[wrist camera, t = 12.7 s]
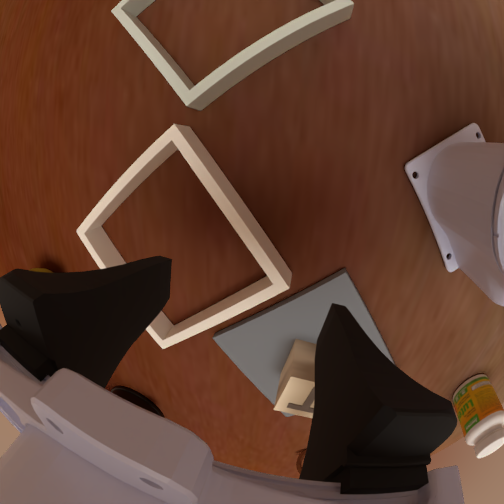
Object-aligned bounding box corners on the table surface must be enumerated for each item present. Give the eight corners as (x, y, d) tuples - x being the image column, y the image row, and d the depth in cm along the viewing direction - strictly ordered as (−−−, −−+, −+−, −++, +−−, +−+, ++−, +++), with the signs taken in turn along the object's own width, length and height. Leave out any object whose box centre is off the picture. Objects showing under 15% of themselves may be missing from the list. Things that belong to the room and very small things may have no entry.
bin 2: (292, 273, 21) (289, 288, 19) (173, 334, 26) (162, 349, 23) (189, 126, 18) (174, 123, 16) (93, 223, 23) (76, 231, 21)
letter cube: (344, 351, 21) (348, 389, 17) (325, 383, 23) (324, 421, 19) (295, 338, 22) (290, 377, 18) (280, 373, 24) (273, 410, 19)
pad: (398, 370, 22) (399, 376, 21) (287, 411, 27) (286, 417, 26) (345, 267, 20) (345, 272, 19) (215, 332, 24) (212, 338, 24)
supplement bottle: (459, 378, 21) (484, 443, 12) (492, 368, 20) (521, 425, 11) (446, 406, 23) (463, 467, 14) (478, 397, 21) (499, 451, 13)
